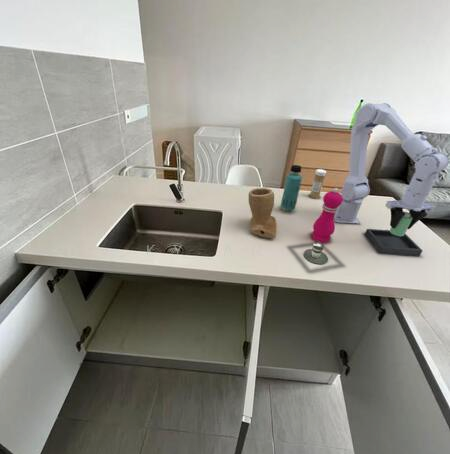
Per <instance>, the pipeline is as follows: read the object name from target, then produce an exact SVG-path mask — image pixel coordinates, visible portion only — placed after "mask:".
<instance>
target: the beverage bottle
mask: <svg viewBox="0 0 450 454" xmlns="http://www.w3.org/2000/svg"><path fill="white" fill-rule="evenodd" d="M301 172H302V165H299V164H293V165H291V167H290V172H289V173H288V174H286V177H285V183H284V188H283V192H282V197H281V200H280V201H281V202H280V208H282V209H283V210H285V211H294V210H295V209H296V207H297V206H296V205H297V203H298V199H299V194H300V193H299V192H300V190H301V183H302V179H303V176H302V174H300V173H301Z"/></svg>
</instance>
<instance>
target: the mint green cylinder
mask: <svg viewBox="0 0 450 454" xmlns="http://www.w3.org/2000/svg"><path fill="white" fill-rule="evenodd" d="M403 212H404V213H405V215H404V216H403V217H402V218H401V219H400V221H399V222H398V224H397V226H396V227H395V228H392V227H391V226H390V229H389V230H390V232H391V233H392V234H393V235H396V236H404V234H406V232H407V231H408V230H409V229H408V227H409V225H410V223H411V221H412V219H413V217H412V216H411V214H410V213H409V211H403Z"/></svg>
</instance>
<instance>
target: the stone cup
mask: <svg viewBox="0 0 450 454" xmlns="http://www.w3.org/2000/svg"><path fill="white" fill-rule="evenodd" d="M248 205H249V208H250V212H251V218H250V222H249V223H250V225H249V231H250V232H251V233H252V234H254V235H256V236H258V237H261V238H267V239H273V238H276V237H277V232H278V231H277V220H276V219H277V218H276V217H275V216H272V213H273V210H274V205H275V193H274V191H273V190H272V189H271V188H268V187H256V188H253V189H250V190H249V192H248Z"/></svg>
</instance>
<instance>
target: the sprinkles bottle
mask: <svg viewBox="0 0 450 454" xmlns="http://www.w3.org/2000/svg"><path fill="white" fill-rule="evenodd" d="M326 175H327V170H325V169H322V168H319V169H315V175H314V179H313V182H312V186H311V191H310V194H309V197H310V198H312V199H319V198H320V195H321V192H322V190H323V189H322V188H323V184H324V180H325V177H326Z"/></svg>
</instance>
